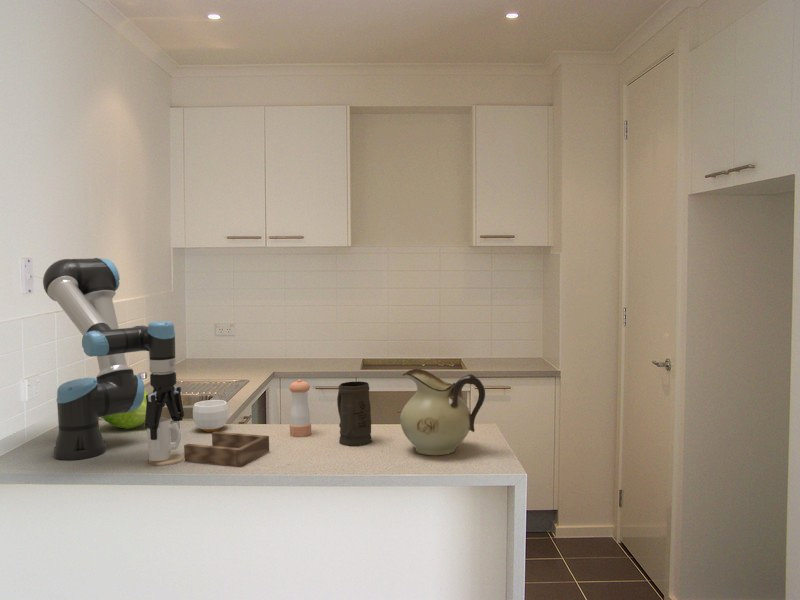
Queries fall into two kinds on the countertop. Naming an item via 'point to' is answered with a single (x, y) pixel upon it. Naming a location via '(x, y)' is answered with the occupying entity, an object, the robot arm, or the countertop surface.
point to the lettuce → (129, 416)
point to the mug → (163, 441)
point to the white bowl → (210, 414)
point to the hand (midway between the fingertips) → (165, 445)
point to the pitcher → (438, 413)
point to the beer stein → (354, 413)
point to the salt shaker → (300, 409)
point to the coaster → (169, 460)
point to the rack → (228, 449)
